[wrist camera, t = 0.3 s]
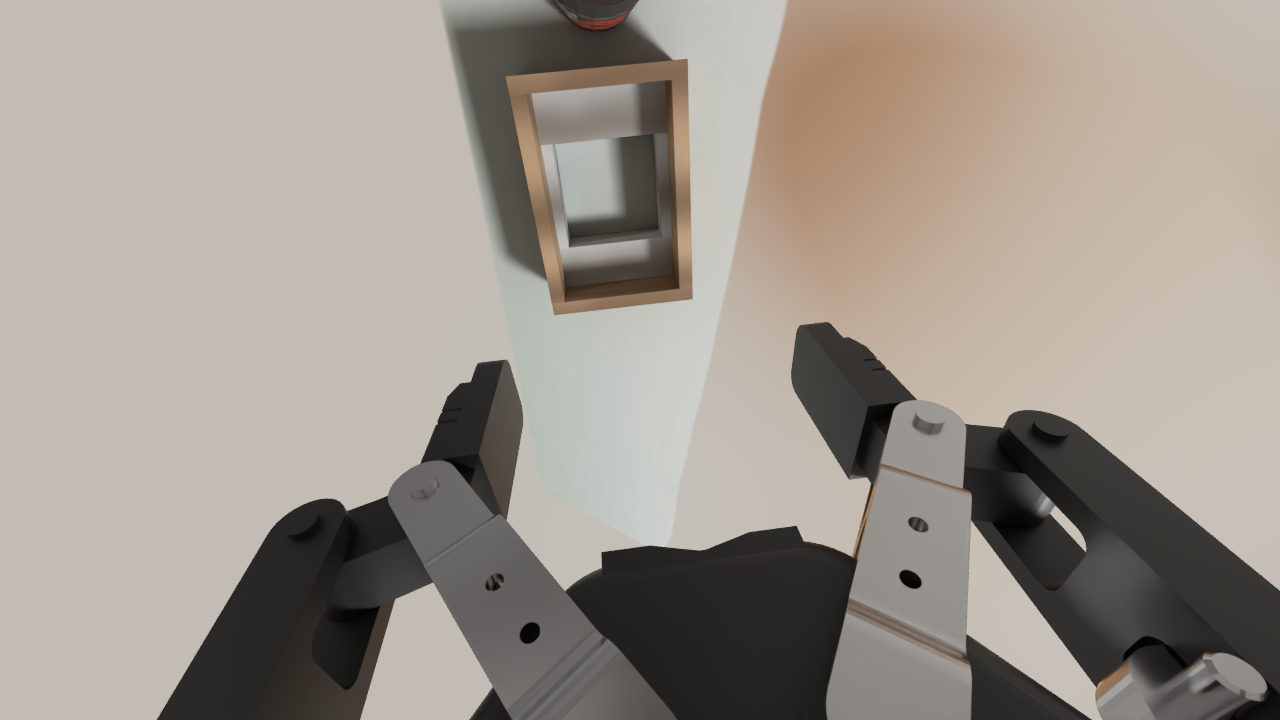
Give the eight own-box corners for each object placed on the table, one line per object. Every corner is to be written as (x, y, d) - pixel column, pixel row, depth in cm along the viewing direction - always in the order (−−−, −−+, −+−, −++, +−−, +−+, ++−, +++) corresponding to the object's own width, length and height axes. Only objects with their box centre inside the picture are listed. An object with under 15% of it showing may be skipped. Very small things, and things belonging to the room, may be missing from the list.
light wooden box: (517, 75, 32) (505, 76, 27) (673, 60, 32) (687, 58, 28) (558, 287, 41) (554, 315, 36) (680, 273, 41) (692, 299, 36)
